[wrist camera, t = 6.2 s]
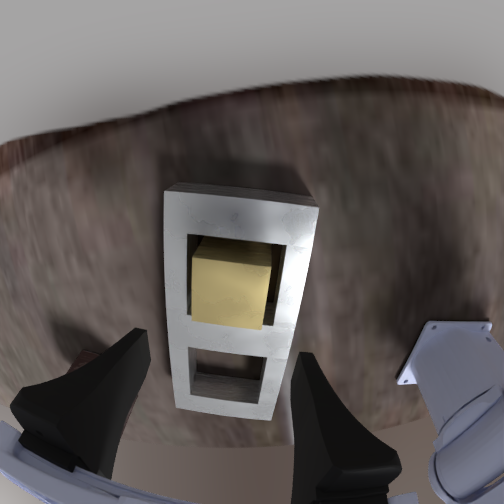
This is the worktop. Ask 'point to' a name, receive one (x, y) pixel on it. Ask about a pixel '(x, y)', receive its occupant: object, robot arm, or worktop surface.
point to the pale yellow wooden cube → (230, 282)
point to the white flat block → (277, 313)
